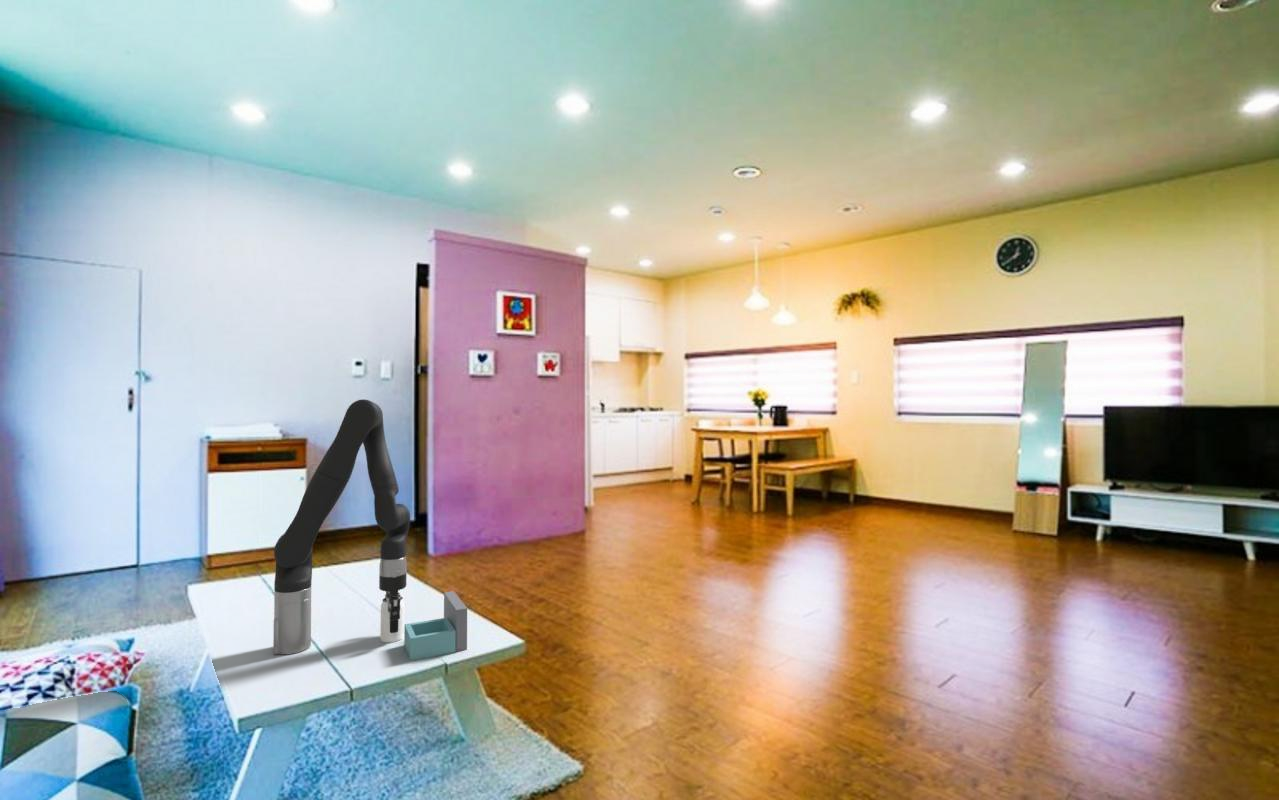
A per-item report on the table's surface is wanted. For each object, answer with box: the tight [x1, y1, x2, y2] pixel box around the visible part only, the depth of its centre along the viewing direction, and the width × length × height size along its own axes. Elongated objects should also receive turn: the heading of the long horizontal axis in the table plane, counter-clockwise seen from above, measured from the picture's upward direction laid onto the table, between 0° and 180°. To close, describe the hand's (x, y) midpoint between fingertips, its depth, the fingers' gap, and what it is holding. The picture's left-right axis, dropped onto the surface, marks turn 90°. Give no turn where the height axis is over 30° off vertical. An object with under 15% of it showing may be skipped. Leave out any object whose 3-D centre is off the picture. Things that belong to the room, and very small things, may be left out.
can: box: [380, 596, 405, 643], centre depth 181 cm, size 6×6×12 cm
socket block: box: [403, 617, 456, 662], centre depth 174 cm, size 12×12×6 cm
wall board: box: [443, 590, 468, 653], centre depth 181 cm, size 3×18×12 cm, turn 29°
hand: (392, 628), depth 181 cm, fingers closed on can, 6 cm apart
